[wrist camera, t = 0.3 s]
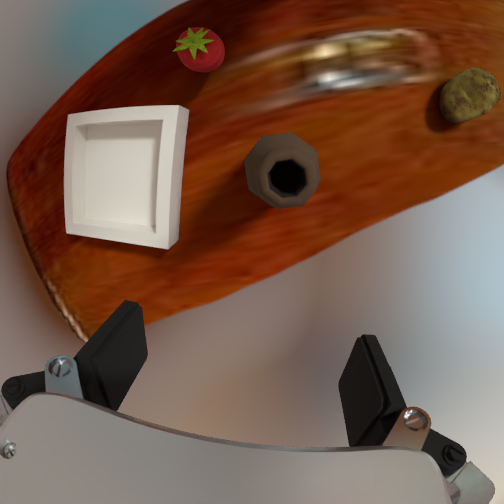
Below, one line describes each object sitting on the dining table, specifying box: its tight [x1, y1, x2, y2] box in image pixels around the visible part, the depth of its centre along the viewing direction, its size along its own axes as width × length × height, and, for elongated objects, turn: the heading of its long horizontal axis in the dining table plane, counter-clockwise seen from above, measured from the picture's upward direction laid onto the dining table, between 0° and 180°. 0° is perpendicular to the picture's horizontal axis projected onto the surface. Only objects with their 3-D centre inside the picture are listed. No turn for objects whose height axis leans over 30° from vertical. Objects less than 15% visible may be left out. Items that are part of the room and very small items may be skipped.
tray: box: [64, 105, 189, 249], centre depth 37 cm, size 20×20×4 cm
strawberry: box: [172, 27, 225, 72], centre depth 27 cm, size 6×8×10 cm
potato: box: [439, 68, 501, 124], centre depth 25 cm, size 8×13×8 cm, turn 114°
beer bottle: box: [244, 132, 320, 209], centre depth 26 cm, size 8×8×24 cm
